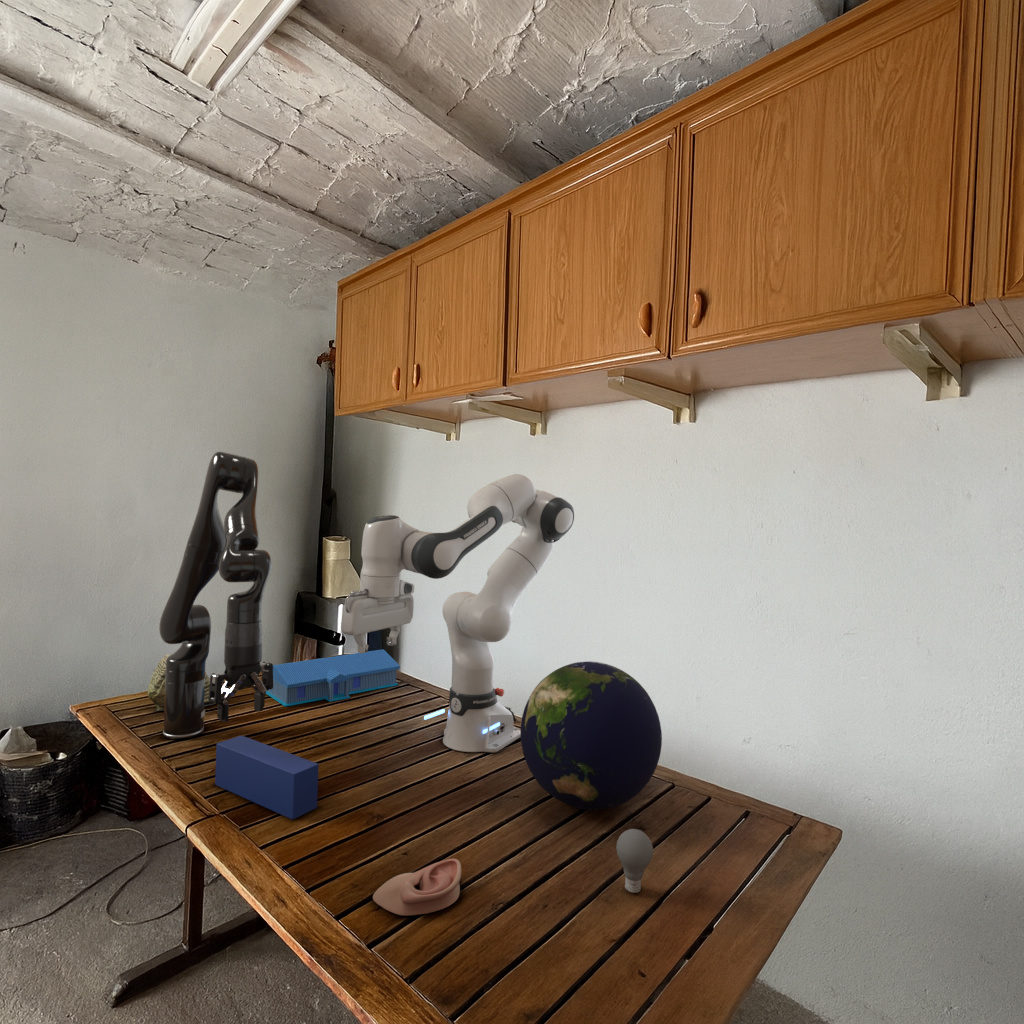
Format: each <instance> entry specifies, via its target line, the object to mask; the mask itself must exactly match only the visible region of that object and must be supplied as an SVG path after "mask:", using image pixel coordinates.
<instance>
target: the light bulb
mask: <svg viewBox="0 0 1024 1024" xmlns="http://www.w3.org/2000/svg"><path fill="white" fill-rule="evenodd" d="M615 849H616V854H617V857H618V859H619V861H620V863H621V865H622V867H623V873H624V874H623V875H624V876H625V878H624V888H625V890H627V891H628V892H630V893H634V894H635V893H639V892H640V891H641V889H642V887H641V886H642V879H643V877H644V875H645V871H646V868H647V867H648V866H649V864H650V863H651V861H652V859H653V855H654V847H653V843H652V841H651V838H649V836H648V835H647V834H646V833H645V832H643V831H642V830H641V829H636V828H629V829H627V830H625V831H623V832H622V833H621V834H620V835H619V837H618V839H617V841H616V847H615Z"/></svg>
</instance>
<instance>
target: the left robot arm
mask: <svg viewBox="0 0 1024 1024" xmlns="http://www.w3.org/2000/svg"><path fill="white" fill-rule="evenodd" d="M220 490H221V491H224V492H225V491H226V492H231V493H235V494H241V495H242V496H241V497H240V498H239V500H238V501H237V502H236V503H234V504H233V505H232V507H231V508H229V510H228V511H227V513H226V515H225V517H224V522H223V519H222V516H221V514H220V510H219V506H218V505H219V504H218V495H219V491H220ZM201 491H202V492H201V496H200V500H199V504H198V508H197V511H196V515H195V518H194V521H193V524H192V527H191V530H190V533H189V536H188V539H187V542H186V546H185V549H184V552H183V556H182V561H181V563H180V567H179V570H178V573H177V575H176V579H175V581H174V585H173V587H172V590H171V592H170V595H169V597H168V599H167V601H166V604H165V605H164V609H163V611H162V613H161V616H160V619H159V625H158V626H159V627H158V628H159V629H158V631H159V636H160V638H161V640H162V641H163V642H164V643H165V644H168V645H179V644H181V645H180V646H179V648H178V649H177V650H175V651H174V652H173V653H172V654H169V655H170V656H169V657H168V658H167V660H166V674H165V705H164V710H163V730H162V737H164V738H166V739H169V740H185V739H190V738H191V739H192V738H194V737H197V736H199V735H202V734H203V732H204V730H205V729H204V727H205V725H204V722H205V721H204V718H205V715H206V709H205V706H204V693H205V672H206V664H207V663H206V662H207V659H208V656H209V653H210V646H211V645H210V643H211V634H212V617H211V614H210V612H209V610H208V609H207V607H206V606H205V605H202V604H194V603H195V601H196V599H197V597H198V596H199V594H200V593H201V591H203V589H204V588H205V587H206V586H207V585H208V583H210V582H211V580H212V579H214V577H215V576H216V575H217V573H219V575H220V578H221V579H222V580H223V581H225V582H227V583H252V585H251V586H250V587H249V588H248V589H246V590H243V591H240V592H235V593H233V594H230V595H229V596H228V598H227V601H226V624H225V630H224V650H223V651H224V657H223V662H224V666H225V667H224V668H225V669H224V672H222V673H214V672H212V673H211V674H210V675H208V674H207V676H208V677H209V676H210V677H209V678H210V687H209V699H208V700H209V702H212V703H215V704H216V705H217V713H216V714H217V719H218V720H219V722H222V723H226V722H229V712H230V704H229V702H230V701H231V699H232V697H233V696H235V695H236V694H237V692H238V691H241V690H245V688H246V689H247V688H248V689H249V688H252V689H253V690H254V692H255V693H254V694H253V710H254V711H255V712H262V711H263V710H264V708H265V703H266V702H265V701H266V699H265V698H266V691H268V690H269V689H272V688H273V665H274V664H273V663H272V662H268V661H262V659H263V624H262V623H263V619H262V618H263V600H264V596H265V595H264V593H265V591H266V587H267V584H268V580H269V579H270V575H271V572H272V568H273V559H272V556H271V555H270V554H271V553H269V552H268V551H267V550H265V549H258V547H259V545H260V532H259V526H258V525H259V524H258V517H257V515H258V514H257V512H258V511H257V509H258V495H259V466H258V464H257V462H256V460H255V459H252V458H250V457H246V456H242V455H238V454H235V453H230V452H225V451H216V452H214V454H212V456H211V457H210V460H209V463H208V465H207V470H206V473H205V479H204V482H203V486H202V490H201ZM260 673H261V678H259V675H260ZM215 704H214V705H215Z"/></svg>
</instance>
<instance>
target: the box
mask: <svg viewBox="0 0 1024 1024" xmlns="http://www.w3.org/2000/svg"><path fill="white" fill-rule="evenodd" d="M215 752H216V753H215V775H214V777H215V780H214V784H215V786H217V787H219V788H221V789H224V790H226V791H228V792H230V793H232V794H234V795H237V796H238V797H241V798H243V799H246V800H248V801H250V802H252V803H255V804H257V805H259V806H261V807H263V808H266V809H267V810H270V811H273V812H275V813H277V814H280V815H281V816H284V817H285V818H287V819H290V820H295V819H297V818H299V817H301V816H303V815H305V814H307V813H309V812H311V811H313V810H315V809H317V808H318V794H319V793H318V792H319V790H318V789H319V766H320V765H319V763H318V762H315V761H312V760H309V759H306V758H303V757H301V756H298V755H295V754H293V753H290V752H288V751H285V750H282V749H280V748H278V747H277V748H276V747H274V746H271V745H269V744H266V743H263V742H260V741H258V740H255V739H252V738H249V737H246V736H244V735H238V736H235V737H233V738H229V739H227V740H223V741H220V742H217V743H216V751H215Z"/></svg>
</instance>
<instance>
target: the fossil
mask: <svg viewBox="0 0 1024 1024" xmlns="http://www.w3.org/2000/svg"><path fill="white" fill-rule="evenodd" d="M170 655H171V654H165V655H164V656H163V657H162V658H161V659H160V660H159V662H158V663H157V666H156V667H155V669H154V670H153V672H152V675H151V677H150V680H149V684H148V688H147V697H148V699H149V700H150V701H152V703H153V704H154V706H155V711H158V712H159V711H162V712H163V711H164V705H165V674H166V660H167V658H168V657H169V656H170ZM207 675H208V674H207V672H206V671H205V693H204V707H207V706H213V705H215V703H212V702H209V700H208V699H209V687H210V677H209V675H208V676H207Z"/></svg>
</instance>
